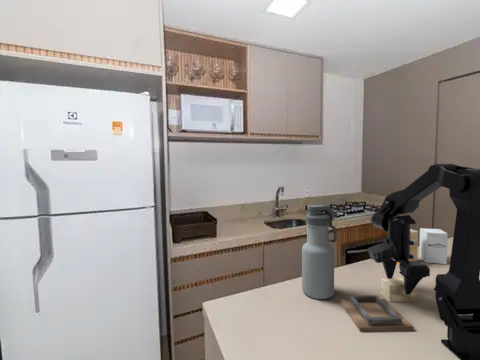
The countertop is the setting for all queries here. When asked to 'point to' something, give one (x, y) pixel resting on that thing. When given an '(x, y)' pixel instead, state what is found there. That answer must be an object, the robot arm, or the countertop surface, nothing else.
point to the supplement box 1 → (413, 247)
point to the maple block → (396, 290)
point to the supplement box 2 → (433, 246)
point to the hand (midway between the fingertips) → (398, 286)
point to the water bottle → (318, 253)
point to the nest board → (374, 314)
